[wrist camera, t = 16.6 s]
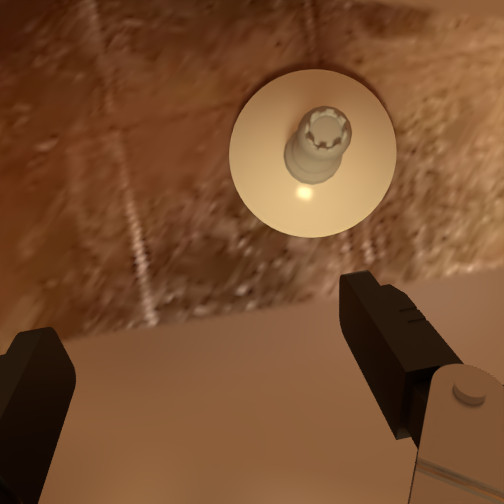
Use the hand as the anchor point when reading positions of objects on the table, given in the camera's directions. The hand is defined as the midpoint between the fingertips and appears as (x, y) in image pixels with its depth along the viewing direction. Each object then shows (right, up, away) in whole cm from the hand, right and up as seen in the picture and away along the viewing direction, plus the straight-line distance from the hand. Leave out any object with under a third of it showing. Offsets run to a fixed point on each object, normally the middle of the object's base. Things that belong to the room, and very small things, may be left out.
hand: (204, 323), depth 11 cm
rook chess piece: (+6, +9, +19) cm, 22 cm away
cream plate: (+6, +10, +20) cm, 23 cm away
